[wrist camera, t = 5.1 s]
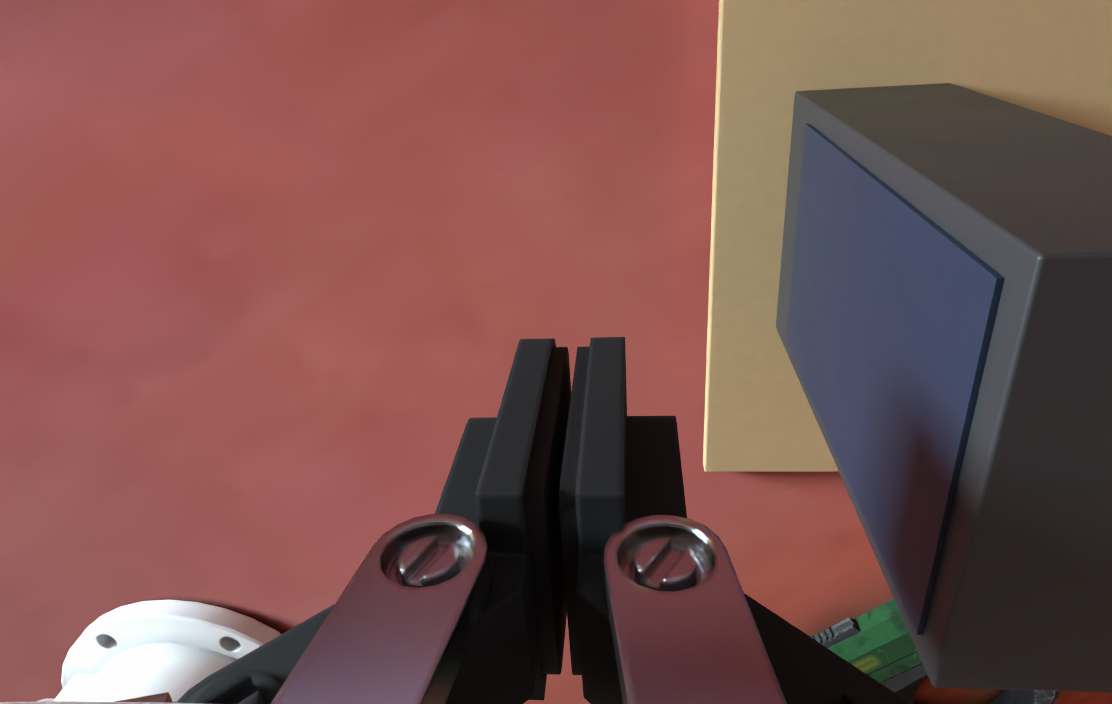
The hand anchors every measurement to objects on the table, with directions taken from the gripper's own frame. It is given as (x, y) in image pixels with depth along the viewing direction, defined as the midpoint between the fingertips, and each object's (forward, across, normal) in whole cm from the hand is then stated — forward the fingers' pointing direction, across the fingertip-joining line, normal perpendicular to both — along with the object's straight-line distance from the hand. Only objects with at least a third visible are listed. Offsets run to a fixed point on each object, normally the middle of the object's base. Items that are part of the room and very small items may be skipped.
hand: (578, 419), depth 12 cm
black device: (+11, -7, 0) cm, 13 cm away
